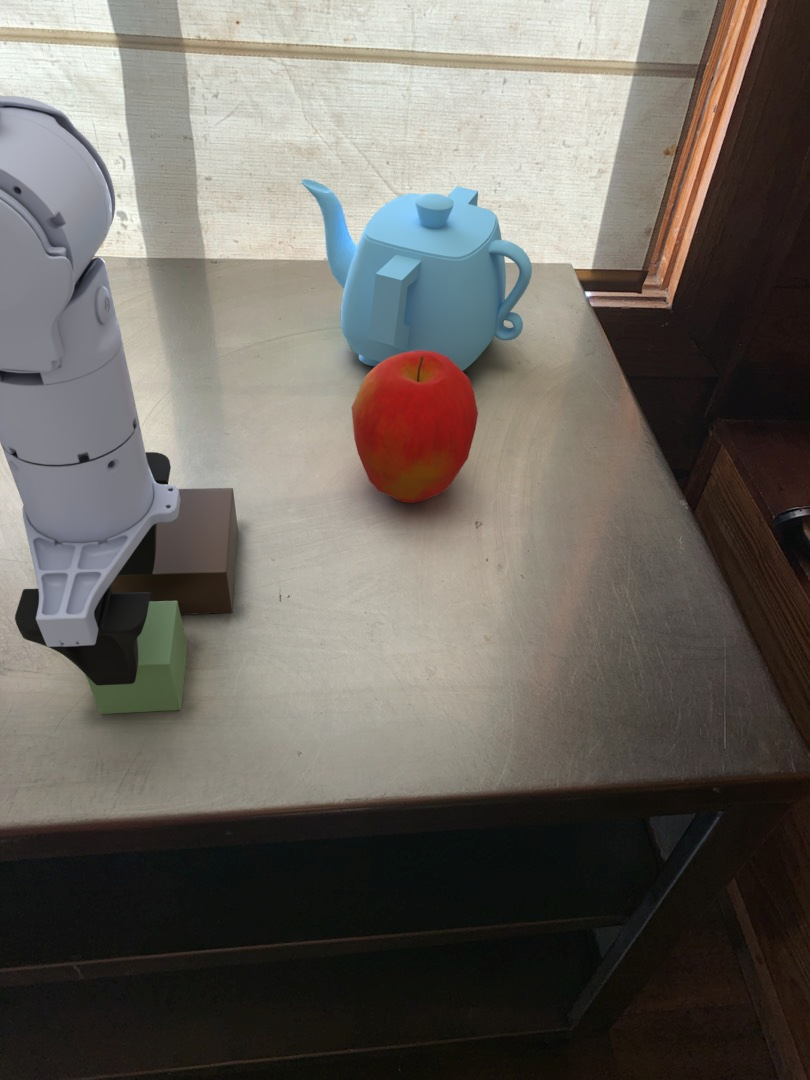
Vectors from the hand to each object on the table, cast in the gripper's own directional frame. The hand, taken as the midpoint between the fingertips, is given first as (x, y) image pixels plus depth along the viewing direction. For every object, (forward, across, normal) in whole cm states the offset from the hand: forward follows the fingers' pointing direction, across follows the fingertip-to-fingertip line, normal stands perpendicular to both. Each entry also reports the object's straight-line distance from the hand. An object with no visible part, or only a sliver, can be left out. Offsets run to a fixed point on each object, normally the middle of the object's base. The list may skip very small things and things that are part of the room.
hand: (126, 621), depth 44 cm
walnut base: (+6, +9, -1) cm, 11 cm away
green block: (+6, 0, 0) cm, 6 cm away
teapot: (+6, +38, -20) cm, 43 cm away
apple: (+6, +17, -18) cm, 25 cm away
